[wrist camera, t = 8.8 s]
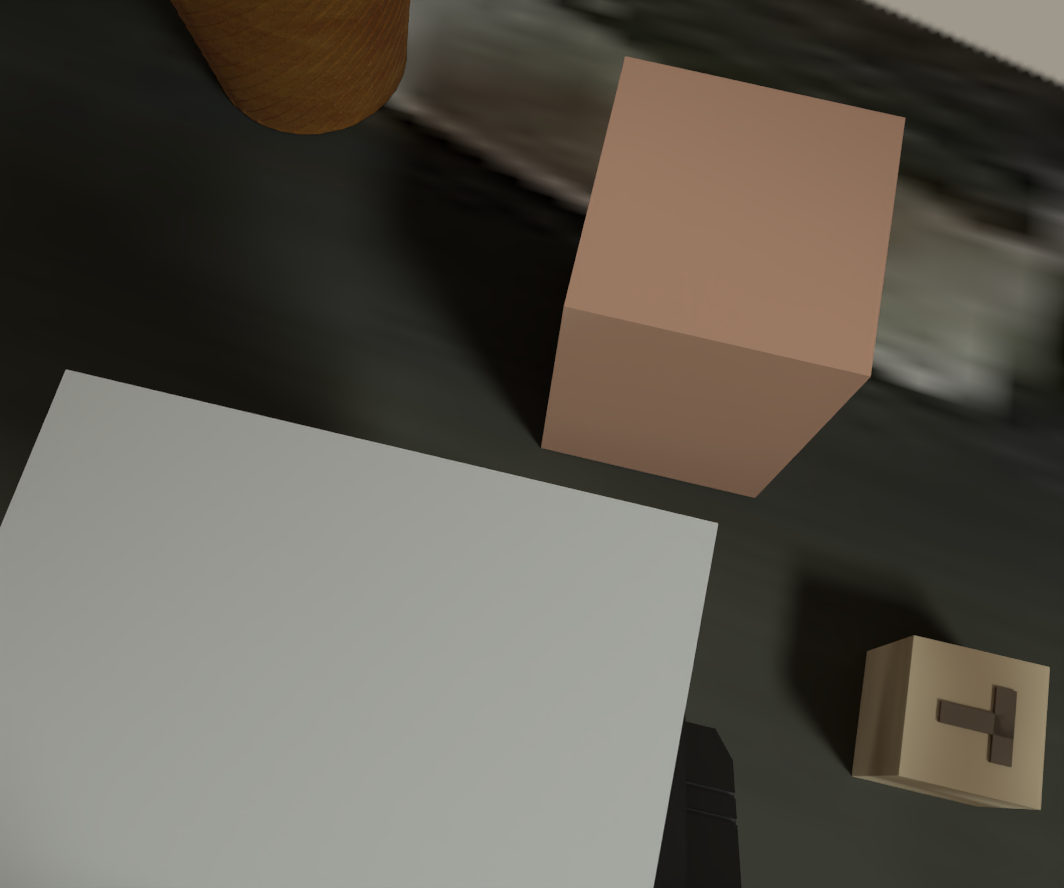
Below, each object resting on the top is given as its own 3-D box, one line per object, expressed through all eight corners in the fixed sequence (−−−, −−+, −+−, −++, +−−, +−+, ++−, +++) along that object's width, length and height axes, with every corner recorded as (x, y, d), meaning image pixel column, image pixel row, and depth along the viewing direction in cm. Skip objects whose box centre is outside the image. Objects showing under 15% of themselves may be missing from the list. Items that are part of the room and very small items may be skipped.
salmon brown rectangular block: (787, 304, 32) (904, 117, 23) (754, 497, 30) (870, 376, 21) (586, 259, 32) (625, 56, 23) (540, 447, 30) (564, 306, 21)
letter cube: (986, 679, 28) (1052, 666, 25) (975, 806, 27) (1042, 809, 24) (865, 651, 28) (915, 634, 25) (850, 776, 27) (900, 775, 24)
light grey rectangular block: (605, 647, 18) (719, 523, 10) (524, 1037, 16) (572, 1340, 8) (266, 566, 19) (66, 370, 10) (144, 940, 17) (-249, 1125, 8)
